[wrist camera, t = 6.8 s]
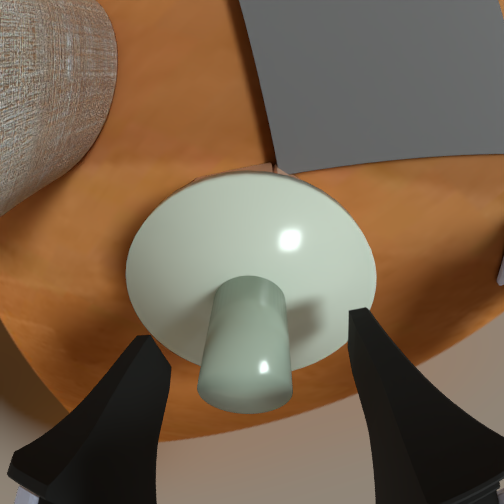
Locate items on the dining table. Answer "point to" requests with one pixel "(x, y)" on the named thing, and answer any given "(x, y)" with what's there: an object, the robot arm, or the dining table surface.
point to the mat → (378, 78)
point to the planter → (51, 89)
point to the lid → (249, 282)
